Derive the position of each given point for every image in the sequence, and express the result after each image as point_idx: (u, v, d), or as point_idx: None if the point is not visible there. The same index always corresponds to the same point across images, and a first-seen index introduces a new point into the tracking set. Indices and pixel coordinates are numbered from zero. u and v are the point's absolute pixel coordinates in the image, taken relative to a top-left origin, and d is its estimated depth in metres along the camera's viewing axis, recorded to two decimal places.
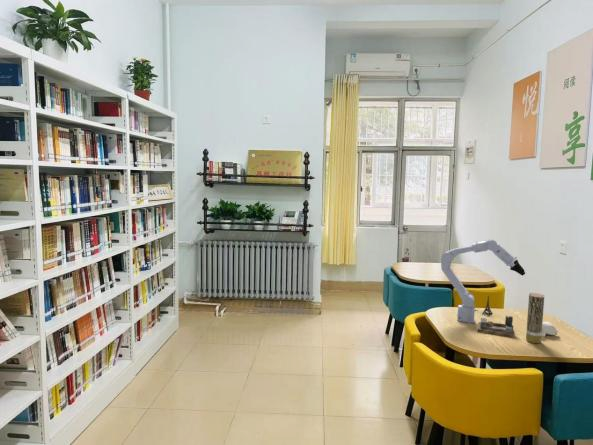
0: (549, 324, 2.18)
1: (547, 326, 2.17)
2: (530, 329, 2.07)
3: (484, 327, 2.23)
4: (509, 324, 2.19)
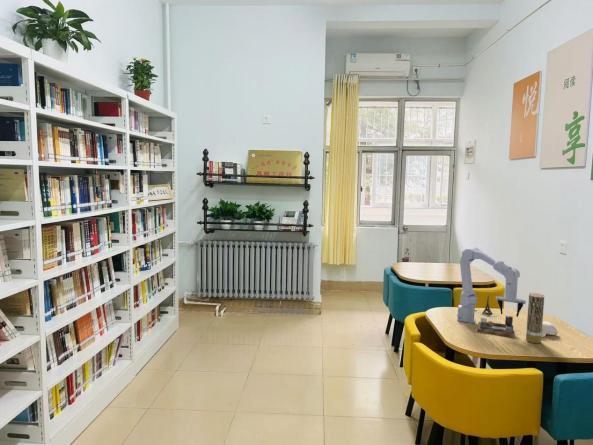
0: (549, 324, 2.18)
1: (547, 326, 2.17)
2: (530, 329, 2.07)
3: (484, 327, 2.23)
4: (509, 324, 2.19)
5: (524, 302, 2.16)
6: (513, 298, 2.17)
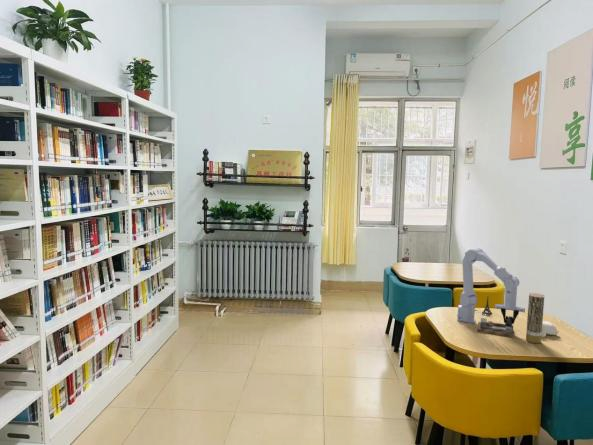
0: (550, 324, 2.18)
1: (548, 326, 2.17)
2: (530, 329, 2.07)
3: (484, 327, 2.23)
4: (509, 324, 2.19)
5: (523, 310, 2.16)
6: (512, 306, 2.17)
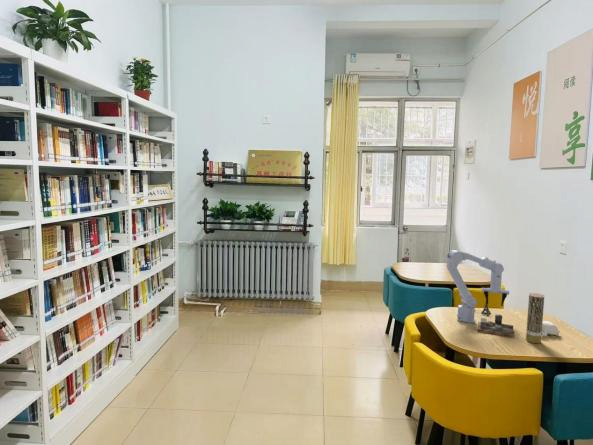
0: (551, 324, 2.18)
1: (549, 326, 2.17)
2: (530, 329, 2.07)
3: (484, 327, 2.23)
4: (498, 322, 2.22)
5: (508, 293, 2.35)
6: (498, 289, 2.35)
